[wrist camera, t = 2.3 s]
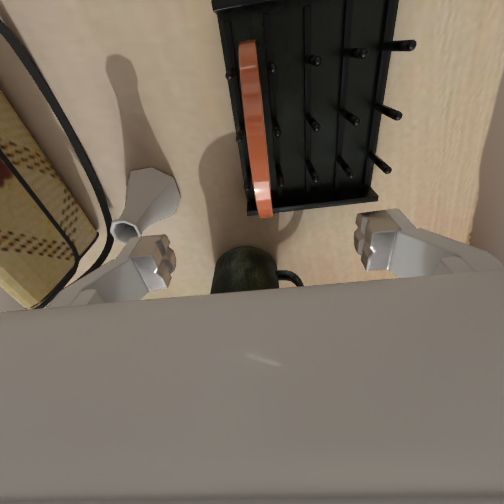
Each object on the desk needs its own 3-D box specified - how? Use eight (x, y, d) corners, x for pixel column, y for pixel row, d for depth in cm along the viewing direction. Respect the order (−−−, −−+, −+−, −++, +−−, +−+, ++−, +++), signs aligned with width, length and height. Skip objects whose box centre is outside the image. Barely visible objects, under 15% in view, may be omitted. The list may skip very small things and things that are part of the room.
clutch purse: (135, 236, 40) (84, 315, 28) (94, 243, 41) (28, 322, 29) (-28, -47, 22) (-355, -158, 10) (-94, -23, 23) (-464, -100, 11)
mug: (202, 252, 42) (186, 312, 32) (290, 229, 39) (302, 287, 29) (226, 296, 48) (219, 357, 39) (304, 279, 45) (318, 340, 36)
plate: (242, 43, 25) (231, 38, 14) (255, 41, 25) (256, 34, 13) (259, 182, 33) (261, 249, 22) (269, 181, 33) (276, 247, 22)
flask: (181, 171, 34) (157, 208, 26) (181, 218, 38) (161, 263, 30) (123, 162, 33) (81, 197, 25) (130, 211, 37) (96, 255, 29)
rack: (217, 6, 24) (205, -7, 18) (397, -29, 22) (444, -54, 17) (248, 201, 36) (246, 229, 30) (366, 187, 35) (388, 214, 29)
